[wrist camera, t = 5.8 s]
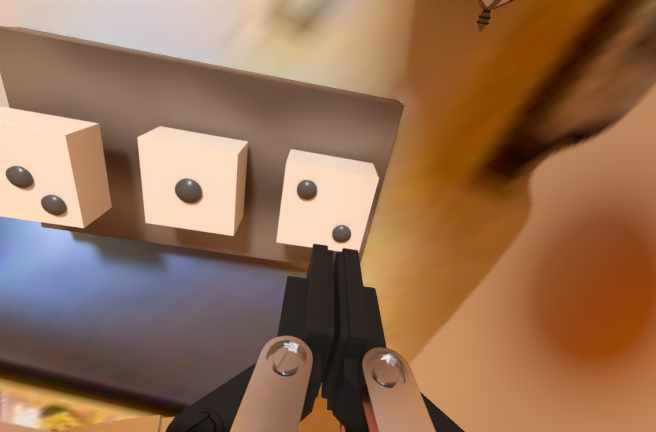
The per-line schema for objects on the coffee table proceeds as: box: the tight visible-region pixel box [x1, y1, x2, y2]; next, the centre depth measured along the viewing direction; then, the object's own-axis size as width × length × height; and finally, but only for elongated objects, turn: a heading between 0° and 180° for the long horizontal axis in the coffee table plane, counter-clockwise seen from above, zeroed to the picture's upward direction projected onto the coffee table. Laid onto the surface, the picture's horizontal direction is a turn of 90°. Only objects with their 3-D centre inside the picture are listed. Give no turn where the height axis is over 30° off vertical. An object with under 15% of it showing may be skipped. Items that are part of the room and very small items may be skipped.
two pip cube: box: [276, 149, 379, 252], centre depth 19 cm, size 5×5×3 cm
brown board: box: [0, 26, 404, 265], centre depth 21 cm, size 12×22×2 cm, turn 80°
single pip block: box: [137, 126, 248, 236], centre depth 19 cm, size 5×5×3 cm
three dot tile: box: [0, 106, 112, 228], centre depth 17 cm, size 5×5×3 cm
